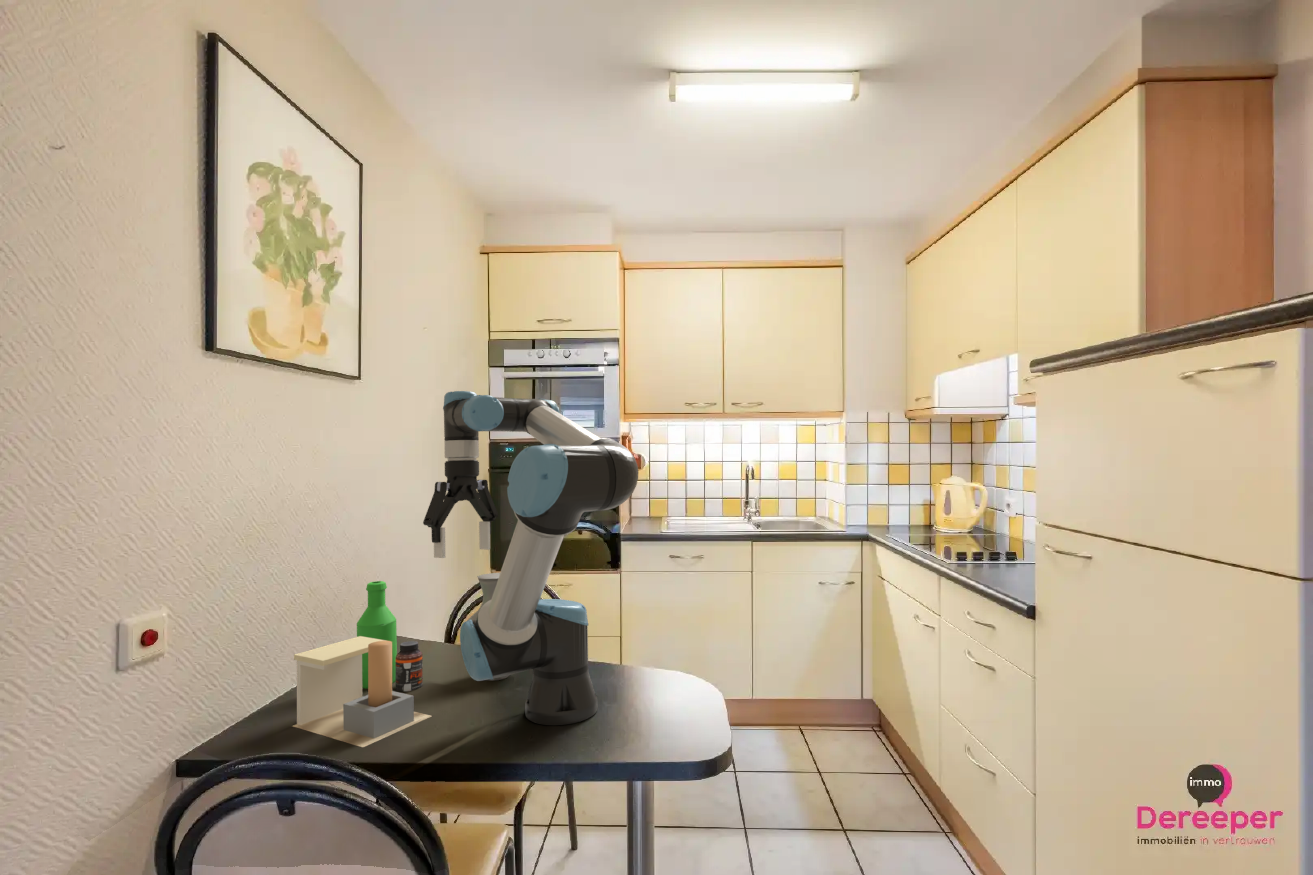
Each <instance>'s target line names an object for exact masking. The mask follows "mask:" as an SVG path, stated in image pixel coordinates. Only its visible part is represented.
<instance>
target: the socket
mask: <svg viewBox="0 0 1313 875" xmlns="http://www.w3.org/2000/svg"><path fill="white" fill-rule="evenodd" d="M414 712H415V698H414V695H411V694H407V693H403V692H400V691H396V690H392V701H391V702H388V703H386V704H383V705H381V706H378V707H372V706H368V694H366V695H362V697H361V698H358V699H355V700H353V701H350V702H347V703H345V704H343V723H344V730H346V731H349V732H353V733H356V734H360V735H363V736H367V737H370V738H374V739H375V738H377V737H379V736H381V735H383V734H386V733H388V732H390V731H392V730H395V729H397V728H399V727H401V726H404V725H406V724H408V723H410V722H412V721H414Z"/></svg>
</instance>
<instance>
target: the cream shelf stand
mask: <svg viewBox="0 0 1313 875" xmlns="http://www.w3.org/2000/svg"><path fill="white" fill-rule="evenodd" d="M377 641H386V640H380V639H374V638H368V637H363V636H359V637H357V636H355V637H351V638H348V639H345V640H342V641H338V642H335V643H334V642H333V643H330V644H327V645H324V646H320V647H316V648H313V649H310V650H306V651H302V652H299V653H296V654H293V661H294V660H295V661H296V724H298V725H302V724H305V723H307V722H310V721H313V720H315V719H318V718H320V717H323V716H326V715H328V714H331V713H334V712H336V711H339V710H341V709H343V704H345V703H347V702H350V701H353V700H355V699H358V698H361V697H363V688H362V654H364V653H367V652H368V645H369V644H370V643H373V642H377Z"/></svg>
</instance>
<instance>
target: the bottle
mask: <svg viewBox="0 0 1313 875" xmlns="http://www.w3.org/2000/svg"><path fill="white" fill-rule="evenodd" d="M387 588H388V586H387V583H386V581H384V580H377V581H370V582H368V583H367V584H366V588H365V590H366V591H367V607H366V609H365V610H364V612H363V613H362V614H361V616H360V618H359V619H358V621H357V623H356V637H359V636H363V637H368V638H374V639H380V640H386V641H391V642H392V684H395V683H396V655H397V654H398V650H397V648H398V647H397V646H398V645H397V644H398V641H397V639H398V638H397V637H398V636H397V630H398V628H397V618H396V616H395V615H394V613H392V611H391V610H390V609H389V607H388V606H387V604H386V589H387ZM362 689H368V652H367V653H364V654H362Z"/></svg>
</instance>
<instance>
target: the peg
mask: <svg viewBox="0 0 1313 875" xmlns="http://www.w3.org/2000/svg"><path fill="white" fill-rule="evenodd" d="M367 691H368V692H367V695H368V706H372V707H378V706H381V705H383V704H386V703H388V702H391V701H392V691H393V683H392V642H391V641H377V642H373V643H370V644H369V645H368V688H367Z"/></svg>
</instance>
